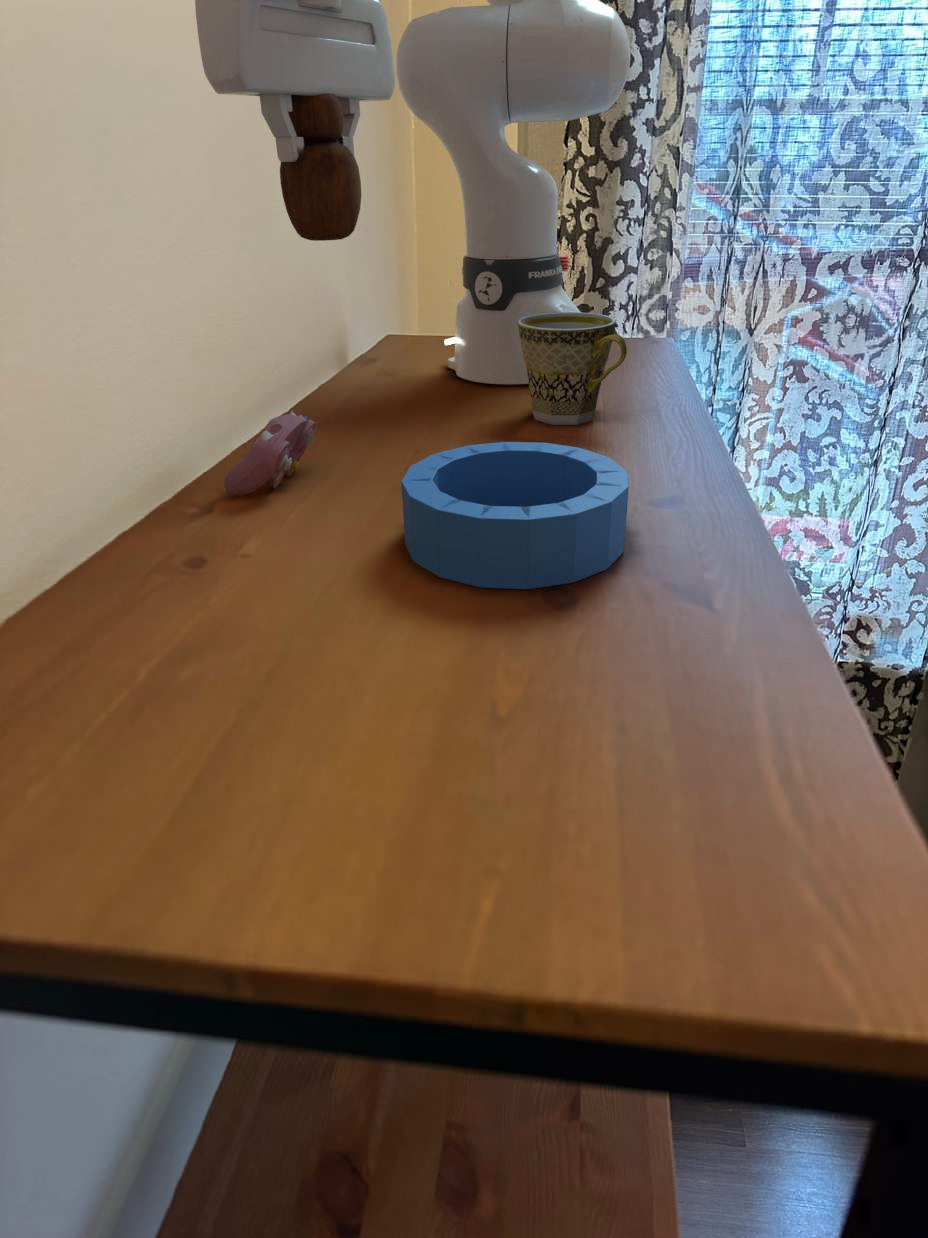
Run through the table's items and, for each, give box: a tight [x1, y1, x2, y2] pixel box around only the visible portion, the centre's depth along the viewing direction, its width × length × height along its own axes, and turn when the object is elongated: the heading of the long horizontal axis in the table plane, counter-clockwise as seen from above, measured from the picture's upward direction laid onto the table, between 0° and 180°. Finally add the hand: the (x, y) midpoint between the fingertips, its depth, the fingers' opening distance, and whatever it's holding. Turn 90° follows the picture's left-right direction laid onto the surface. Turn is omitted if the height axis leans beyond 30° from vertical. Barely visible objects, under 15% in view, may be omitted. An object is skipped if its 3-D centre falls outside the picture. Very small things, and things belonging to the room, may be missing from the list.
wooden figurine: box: [279, 94, 362, 242], centre depth 71 cm, size 7×6×15 cm
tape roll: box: [400, 441, 630, 590], centre depth 61 cm, size 16×16×5 cm
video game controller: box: [223, 411, 317, 497], centre depth 73 cm, size 10×5×7 cm, turn 169°
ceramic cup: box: [518, 311, 628, 426], centre depth 87 cm, size 13×10×10 cm
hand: (317, 160), depth 71 cm, fingers closed on wooden figurine, 5 cm apart
